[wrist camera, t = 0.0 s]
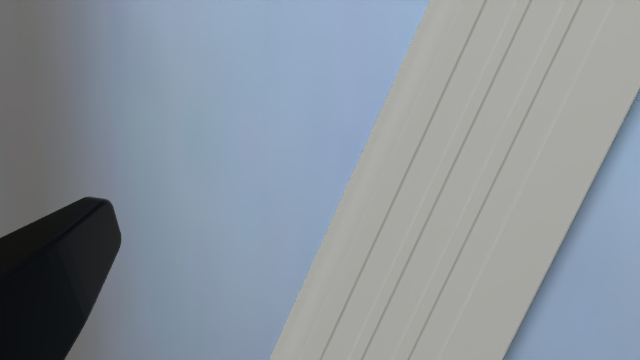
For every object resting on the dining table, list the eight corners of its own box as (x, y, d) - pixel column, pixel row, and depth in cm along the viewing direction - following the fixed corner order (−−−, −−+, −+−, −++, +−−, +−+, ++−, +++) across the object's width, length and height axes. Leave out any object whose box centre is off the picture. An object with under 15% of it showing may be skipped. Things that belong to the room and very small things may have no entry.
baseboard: (179, 491, 27) (371, 603, 26) (150, 529, 25) (363, 658, 23) (452, -131, 24) (697, -44, 22) (454, -169, 21) (735, -72, 19)
